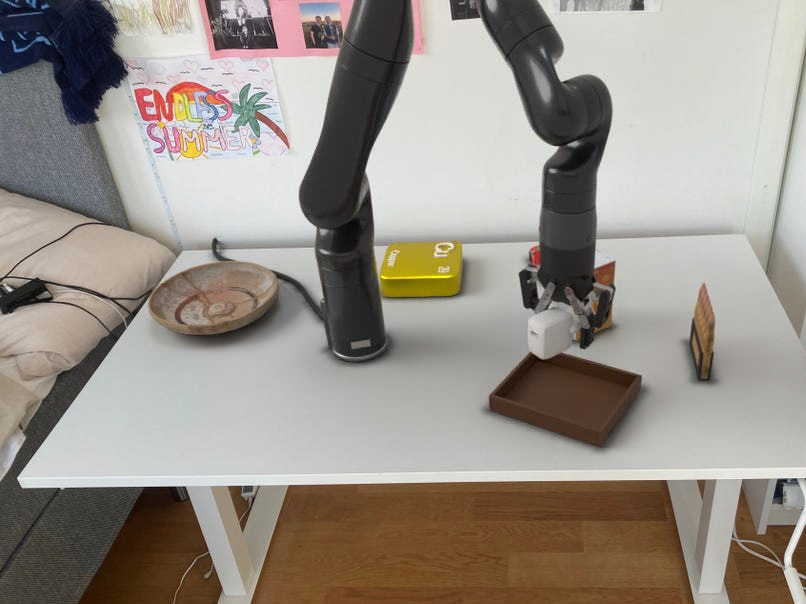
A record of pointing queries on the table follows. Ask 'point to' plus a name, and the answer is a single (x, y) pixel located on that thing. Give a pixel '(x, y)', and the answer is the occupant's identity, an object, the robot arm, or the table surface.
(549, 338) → the power adapter
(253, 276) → the ceramic bowl
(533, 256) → the race car
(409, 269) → the element tile
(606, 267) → the small box
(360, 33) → the robot arm
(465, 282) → the table surface
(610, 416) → the tray
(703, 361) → the ammunition clip
